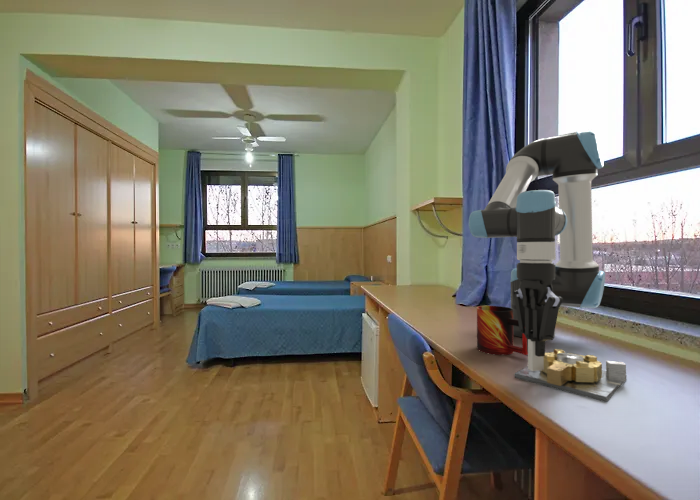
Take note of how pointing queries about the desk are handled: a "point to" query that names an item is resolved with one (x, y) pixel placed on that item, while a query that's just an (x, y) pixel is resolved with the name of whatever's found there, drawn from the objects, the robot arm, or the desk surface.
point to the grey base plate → (595, 390)
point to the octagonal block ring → (571, 369)
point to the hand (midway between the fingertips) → (535, 369)
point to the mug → (497, 331)
